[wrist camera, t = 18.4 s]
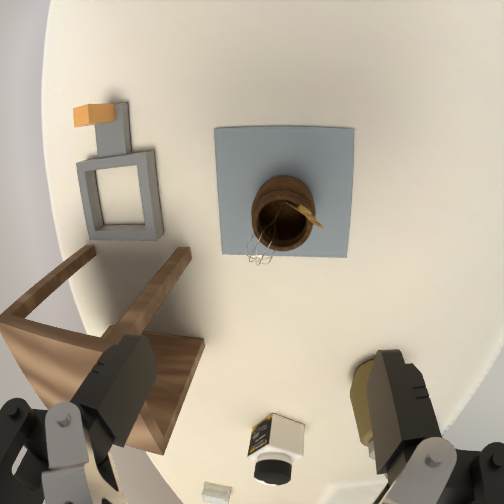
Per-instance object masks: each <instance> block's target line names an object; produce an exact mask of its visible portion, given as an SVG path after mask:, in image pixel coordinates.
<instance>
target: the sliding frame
mask: <svg viewBox="0 0 504 504" xmlns="http://www.w3.org/2000/svg"><path fill="white" fill-rule="evenodd" d="M73 114H74V127H81V126H88V125H95V132H96V142H97V152H98V158H95V159H89V160H84V161H81V162H78V163H76V166H77V173H78V180H79V186H80V192H81V198H82V204H83V209H84V214H85V219H86V224H87V229H88V234H89V238H90V240H140V241H157V240H158V239H159V238H160V237H161V236H162V235H163V234H164V232H163V225H162V218H161V211H160V203H159V195H158V186H157V177H156V167H155V157H154V151H145V152H137V153H131V144H130V133H129V119H128V103H126V102H122V103H117V104H87V105H84V106H80V107H77V108H74V109H73ZM132 165H137V168H138V177H139V185H140V193H141V200H142V208H143V214H144V221H145V225H103V220H102V215H101V210H100V204H99V198H98V192H97V185H96V179H95V171H94V170H99V169H107V168H115V167H123V166H132Z"/></svg>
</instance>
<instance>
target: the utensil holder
mask: <svg viewBox="0 0 504 504" xmlns="http://www.w3.org/2000/svg"><path fill="white" fill-rule="evenodd" d="M315 215H316V211H315V204H314V199H313V196H312V193H311V191H310V189H309V188H308V187H307V185H306V184H305V183H304V182H302V181H301V180H300V179H298V178H296V177H293V176H288V175H280V176H276V177H273V178H271V179H269V180H267V181H266V182H265V183H264V184H263V185H262V186H261V187H260V189H259V190H258V192H257V194H256V196H255V198H254V201H253V204H252V208H251V218H252V228H253V233H254V234H255V235H254V236H256V238H257V239H258V240H259V241H258V244H259V242H261V243H262V244H263V245H264V246H266V247H267V248H269V249H272V250H275V252H276V251H290V250H293V249H296V248H298V247H300V246H301V245H302V244H303V243H304V242H305V241H306V240H307V239H308V237H309V235H310V233H311V231H312V228H313V225H314V224H315V225H317V226H319V227H320V228H324V227H323V226H322V224H320V223H319V222H318V220H317V218H316V217H315ZM252 235H253V234H252ZM254 236H253V237H254ZM251 237H252V236H251ZM253 237H252V238H253ZM252 238H250V240H251V239H252ZM250 240H249V242H250ZM249 242H248V243H249ZM258 244H257V245H256V246H257V248H258ZM247 245H248V244H247ZM246 247H247V246H246ZM255 248H256V247H255ZM255 248H254V249H255ZM249 249H250V246H249ZM245 250H246V248H245ZM266 250H267V249H265V251H266ZM253 251H254V250H253ZM265 251H264V252H263V253H265ZM250 252H251V250H250ZM275 252H273V255H274V254H275ZM252 253H253V252H251V255H253V254H252ZM263 253H262V254H263ZM245 254H246V252H245ZM262 254H261V255H262ZM246 255H247V254H246ZM261 255H260V256H261ZM273 255H272V256H273ZM247 256H248V255H247ZM253 256H254V255H253ZM256 256H257V250H256ZM260 256H259V257H260ZM263 256H264V254H263ZM272 256H271V259H272ZM248 257H249V256H248ZM250 258H252V257H251V256H250ZM250 258H249V260H250ZM257 258H258V257H257ZM257 258H255V257H254V258H253V259H255V260H257ZM262 258H263V257H262ZM269 258H270V257H269ZM265 259H268V258H265ZM271 259H270V261H271ZM259 260H263V259H259ZM253 261H254V260H253ZM257 261H258V260H257ZM270 261H269V262H270ZM249 262H252V261H249ZM260 263H261V261H260ZM260 263H259V264H260ZM262 264H263V263H262ZM267 264H268V263H267ZM256 265H257V262H256ZM257 266H258V265H257Z"/></svg>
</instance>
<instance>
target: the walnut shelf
mask: <svg viewBox="0 0 504 504" xmlns="http://www.w3.org/2000/svg"><path fill="white" fill-rule="evenodd" d="M95 256H96V253H95V249H94V245H85V246H84V247H83V248H81V249H80V250H79V251H77V252H76V253H75V254H73V255H72V256H71V257H69V258H68V259H67V260H65V261H64V262H63V263H61V264H60V265H59V266H58V267H56V268H55V269H54V270H53V271H51V272H50V273H49V274H48V275H46V276H45V277H44V278H43V279H41V280H40V281H39V282H38V283H36V284H35V285H34V286H33V287H32V288H30V289H29V290H28V291H27V292H26V293H25V294H23V295H22V296H21V297H20V298H19V299H18V300H16V301H15V302H14V303H13V304H12V305H11V306H10V307H9V308H8V309H6V310H5V311H4V312H3V313H2V314H1V315H0V332H1V334H2V336H3V338H4V340H5V342H6V344H7V346H8V347H9V349H10V351H11V353H12V354H13V356H14V358H15V360H16V362H17V363H18V365H19V366H20V368H21V370H22V372H23V373H24V375H25V376H26V378H27V380H28V381H29V382H30V384H31V386H32V387H33V389H34V390H35V392H36V393H37V395H38V396H39V398H40V399H41V400H42V402H43V403H44V405H45V406H46V407H47V409H48V410H49V409H50V408H51V407H52V406H54V405H55V404H58V403H61V402H70V400H71V399H72V397H73V396H74V394H75V393H76V391H77V390H78V388H79V387H80V385H81V384H82V382H83V381H84V380H85V378H86V377H87V375H88V374H89V372H91V369H92V368H93V366H94V365H95V364H97V361H98V359H99V358H100V356H101V355H102V353H103V352H104V351H106V350H107V349H108V348H110V347H111V346H112V345H114V344H115V345H118V344H119V342H120V341H121V339H122V338H123V336H124V335H125V334H127V333H130V334H136V335H143V336H146V337H147V338H148V339H149V342H150V346H151V349H152V352H153V355H154V358H155V361H156V364H157V377H156V380H155V382H154V384H153V386H152V388H151V391H150V393H149V395H148V397H147V399H146V401H145V403H144V405H143V407H142V409H141V411H140V413H139V416H138V418H137V420H136V422H135V424H134V426H133V428H132V430H131V432H130V435H129V437H128V439H127V441H126V443H125V445H127V446H131V447H134V448H137V449H141V450H144V451H148V452H151V453H155V454H159V455H164V453H165V450H166V447H167V445H168V442H169V439H170V437H171V434H172V431H173V429H174V426H175V423H176V421H177V418H178V415H179V413H180V410H181V408H182V405H183V402H184V400H185V397H186V394H187V392H188V389H189V387H190V384H191V381H192V379H193V376H194V374H195V371H196V368H197V366H198V363H199V361H200V358H201V355H202V353H203V350H204V348H205V344H204V339H201V338H192V337H183V336H174V335H166V334H159V333H151V332H144V329H145V328H146V326H147V324H148V323H149V321H150V320H151V318H152V317H153V315H154V314H155V312H156V311H157V309H158V308H159V306H160V305H161V303H162V302H163V300H164V299H165V297H166V296H167V294H168V293H169V291H170V290H171V288H172V287H173V285H174V284H175V283H176V281H177V280H178V278H179V277H180V275H181V274H182V272H183V271H184V269H185V268H186V267H187V265H188V264H189V262H190V261H191V259H192V258H191V250H190V248H185V247H178V249H177V250H176V251H175V252H174V253H173V254H172V256H171V257H170V258H169V259H168V260H167V262H166V263H165V264H164V265H163V266H162V268H161V269H160V270H159V271H158V273H157V274H156V275H155V276H154V277H153V279H152V280H151V281H150V282H149V284H148V285H147V286H146V287H145V289H144V290H143V291H142V292H141V294H140V295H139V296H138V297H137V299H136V300H135V301H134V302H133V304H132V305H131V306H130V308H129V309H128V310H127V311H126V313H125V314H124V315H123V316H122V318H121V319H120V320H119V322H118V323H117V324H116V326H115V327H113V326H109V327H108V329H107V330H106V331H105V333H104V334H103V335H102V336H101V338H100V337H96V336H91V335H86V334H82V333H77V332H73V331H69V330H65V329H61V328H57V327H53V326H49V325H45V324H41V323H38V322H34V321H31V320H27V319H24V318H25V317H26V316H28V315H29V314H30V313H31V312H32V311H33V310H34V309H35V308H36V307H37V306H38V305H39V304H40V303H41V302H42V301H44V299H46V298H47V297H48V296H49V295H50V294H51V293H52V292H54V291H55V290H56V289H57V288H58V287H59V286H60V285H61V284H62V283H64V282H65V281H66V280H67V279H68V278H69V277H71V276H72V275H73V274H74V273H75V272H77V271H78V270H79V269H80V268H81V267H82V266H84V265H85V264H86V263H87V262H88V261H90V260H91V259H92V258H93V257H95Z"/></svg>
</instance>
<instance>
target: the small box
mask: <svg viewBox="0 0 504 504" xmlns="http://www.w3.org/2000/svg"><path fill="white" fill-rule="evenodd" d="M230 493H231V487H230V486H224V485H219V484H214V483H209V482H205V485H204V489H203V492H202V497H203V501H205V502H210V503H215V504H228V503H229V498H230Z"/></svg>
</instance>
